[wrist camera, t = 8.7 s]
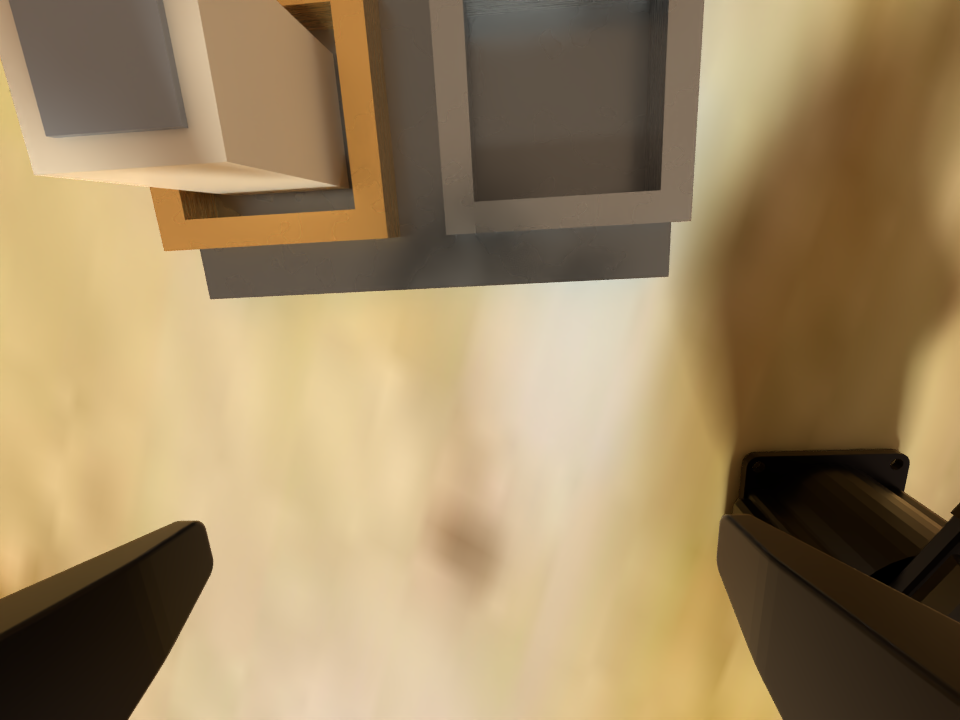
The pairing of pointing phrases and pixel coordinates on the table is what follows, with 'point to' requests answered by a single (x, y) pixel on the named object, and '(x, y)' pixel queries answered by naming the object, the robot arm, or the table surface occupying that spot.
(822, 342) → the table surface
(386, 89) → the panel
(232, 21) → the plug
